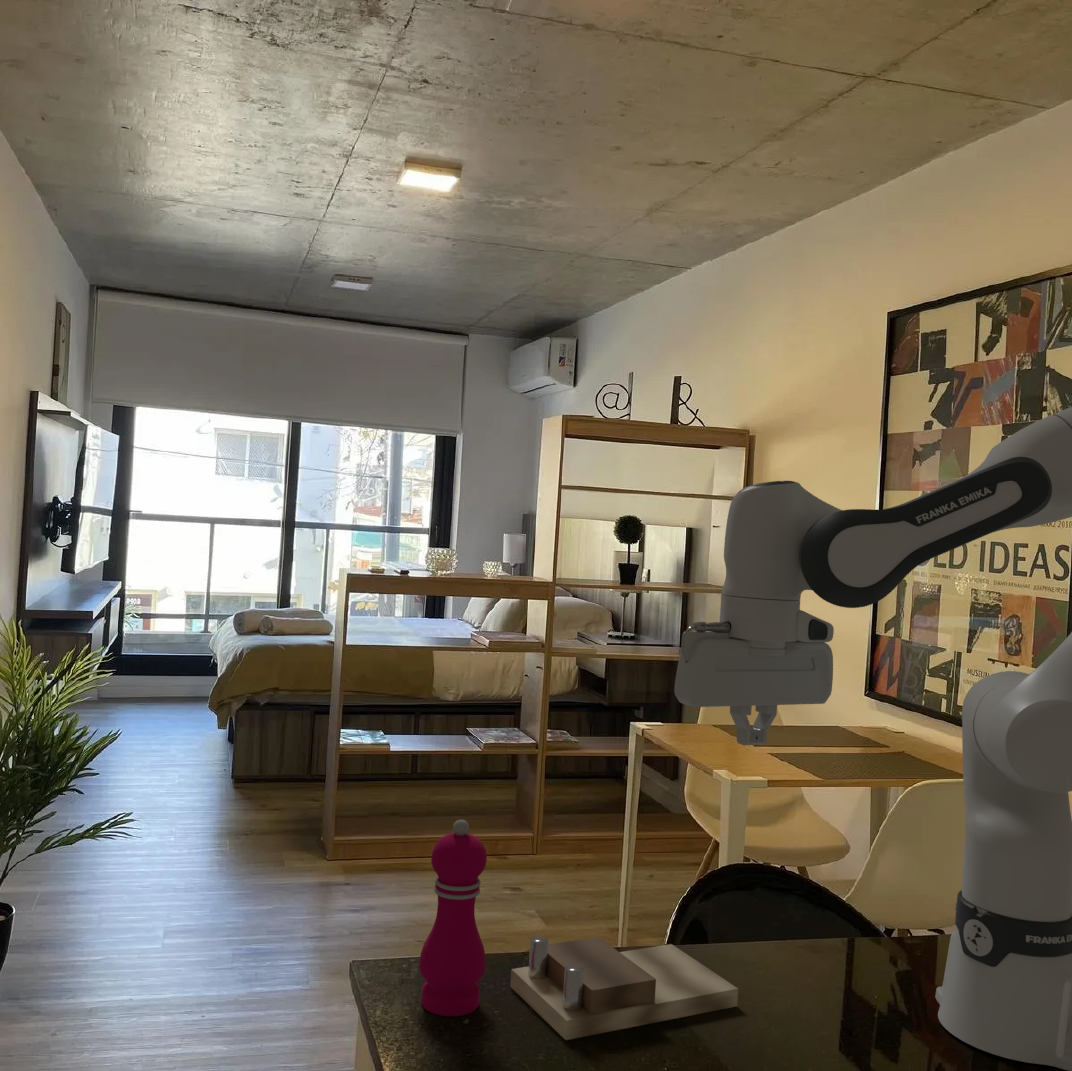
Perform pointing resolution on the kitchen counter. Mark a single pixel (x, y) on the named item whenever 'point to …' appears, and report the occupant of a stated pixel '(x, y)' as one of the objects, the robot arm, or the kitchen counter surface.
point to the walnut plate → (601, 975)
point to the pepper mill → (454, 927)
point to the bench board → (676, 995)
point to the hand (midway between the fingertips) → (751, 744)
